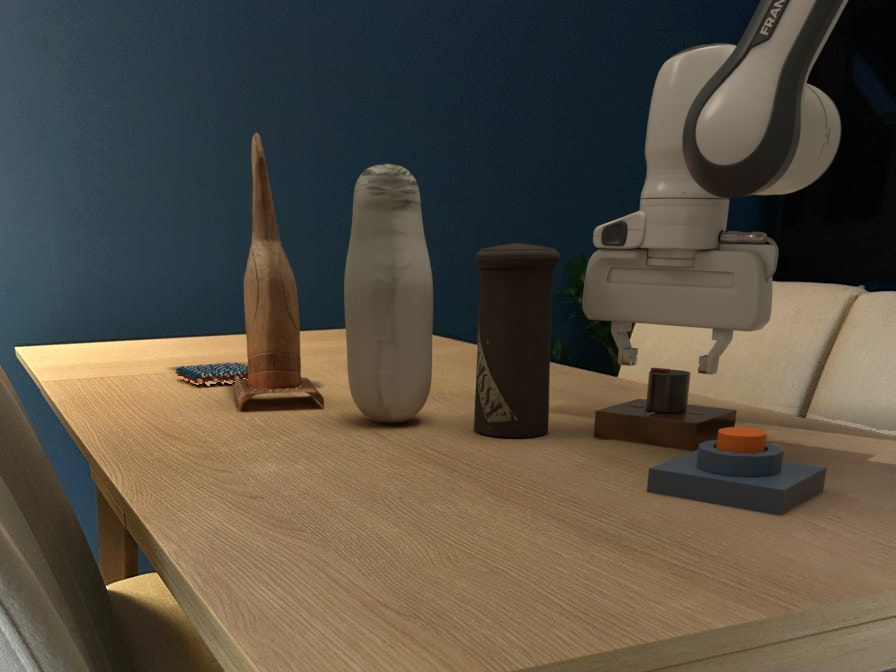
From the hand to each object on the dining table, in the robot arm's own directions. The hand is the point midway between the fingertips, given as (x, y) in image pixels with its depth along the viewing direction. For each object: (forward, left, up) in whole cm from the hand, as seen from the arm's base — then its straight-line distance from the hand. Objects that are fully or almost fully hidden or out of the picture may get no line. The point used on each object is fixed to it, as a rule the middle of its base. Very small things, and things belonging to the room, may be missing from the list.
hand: (666, 369), depth 105 cm
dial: (0, 0, -4) cm, 4 cm away
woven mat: (+72, +4, -8) cm, 72 cm away
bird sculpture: (+50, +12, -8) cm, 52 cm away
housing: (-16, +18, -7) cm, 25 cm away
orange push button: (-16, +18, -4) cm, 24 cm away
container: (+15, +8, -8) cm, 18 cm away
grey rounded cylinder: (+30, +12, -8) cm, 33 cm away
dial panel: (0, 0, -7) cm, 7 cm away
